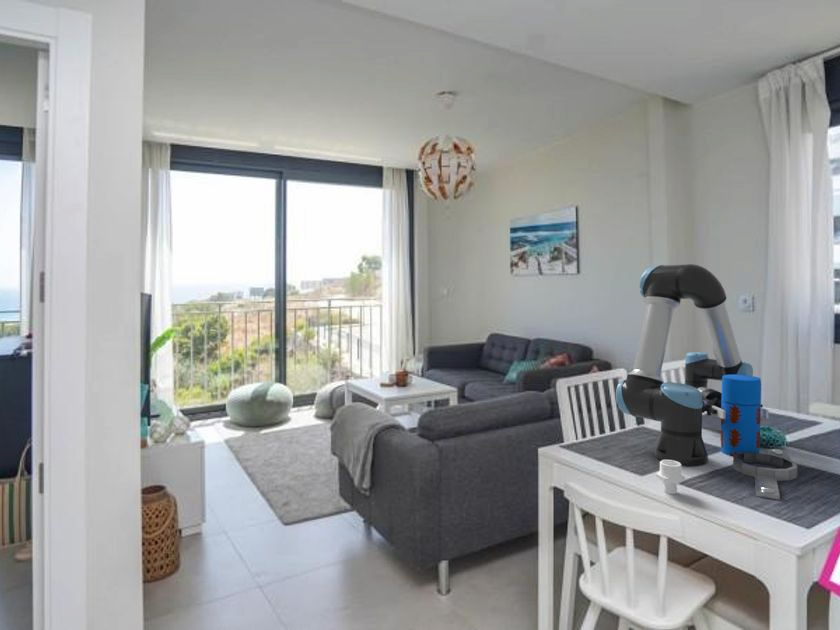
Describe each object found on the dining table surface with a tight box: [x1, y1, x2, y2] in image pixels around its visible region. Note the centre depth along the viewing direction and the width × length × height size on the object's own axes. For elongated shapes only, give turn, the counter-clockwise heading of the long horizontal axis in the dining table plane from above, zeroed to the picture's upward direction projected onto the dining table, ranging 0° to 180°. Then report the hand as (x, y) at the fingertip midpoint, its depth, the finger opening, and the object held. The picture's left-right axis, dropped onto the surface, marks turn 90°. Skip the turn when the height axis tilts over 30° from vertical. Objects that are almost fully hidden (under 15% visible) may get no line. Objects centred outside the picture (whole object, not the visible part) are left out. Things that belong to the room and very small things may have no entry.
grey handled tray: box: [732, 448, 798, 501], centre depth 148 cm, size 16×41×3 cm, turn 148°
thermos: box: [720, 375, 762, 458], centre depth 164 cm, size 11×11×25 cm
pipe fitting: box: [655, 460, 686, 495], centre depth 136 cm, size 6×7×8 cm
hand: (745, 414), depth 161 cm, fingers open, 13 cm apart
